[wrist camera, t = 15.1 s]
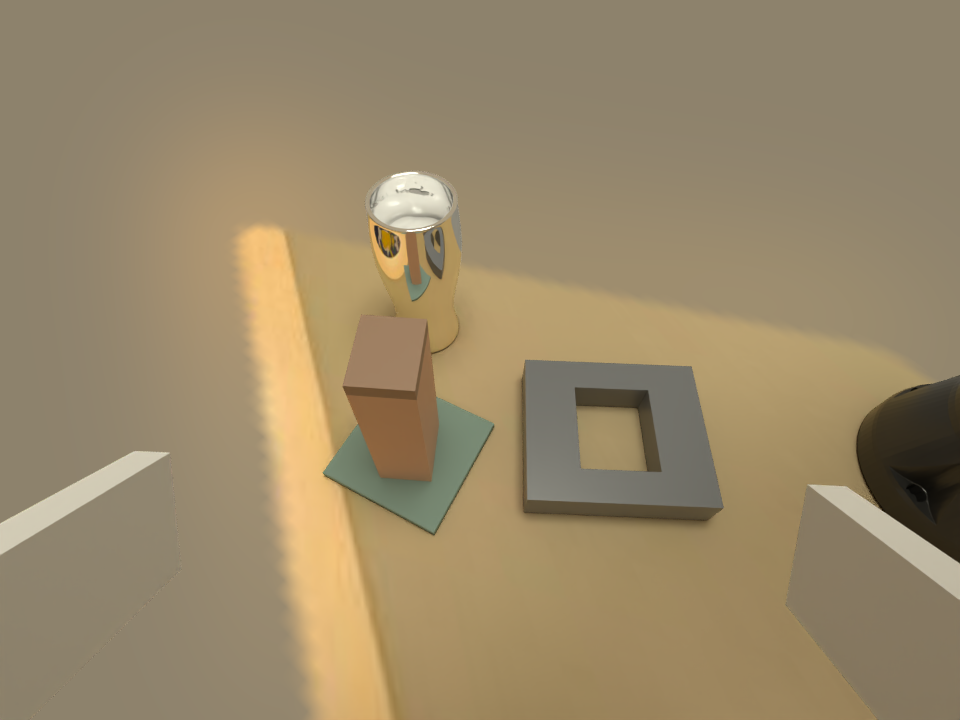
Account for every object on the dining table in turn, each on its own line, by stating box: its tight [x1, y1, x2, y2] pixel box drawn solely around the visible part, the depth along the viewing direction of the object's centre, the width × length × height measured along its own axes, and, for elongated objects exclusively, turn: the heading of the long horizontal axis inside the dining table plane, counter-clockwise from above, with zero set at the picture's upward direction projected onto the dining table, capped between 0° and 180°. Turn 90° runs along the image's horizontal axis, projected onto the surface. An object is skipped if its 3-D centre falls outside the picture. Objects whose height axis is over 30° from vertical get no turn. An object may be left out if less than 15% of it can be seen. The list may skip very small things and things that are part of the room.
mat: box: [323, 397, 494, 535], centre depth 41 cm, size 10×10×1 cm
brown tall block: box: [343, 315, 439, 482], centre depth 35 cm, size 4×5×14 cm
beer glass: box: [365, 171, 462, 353], centre depth 42 cm, size 7×7×15 cm
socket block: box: [522, 360, 724, 520], centre depth 41 cm, size 14×12×3 cm
